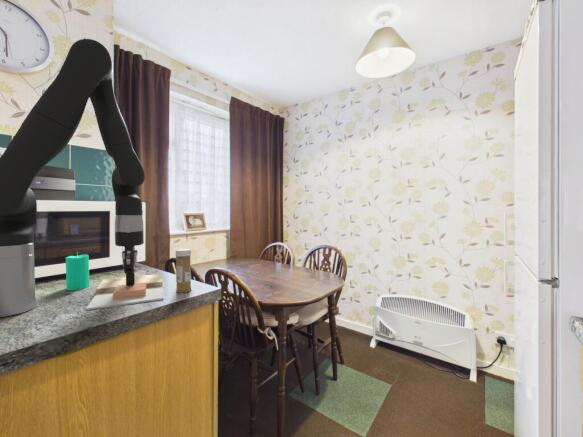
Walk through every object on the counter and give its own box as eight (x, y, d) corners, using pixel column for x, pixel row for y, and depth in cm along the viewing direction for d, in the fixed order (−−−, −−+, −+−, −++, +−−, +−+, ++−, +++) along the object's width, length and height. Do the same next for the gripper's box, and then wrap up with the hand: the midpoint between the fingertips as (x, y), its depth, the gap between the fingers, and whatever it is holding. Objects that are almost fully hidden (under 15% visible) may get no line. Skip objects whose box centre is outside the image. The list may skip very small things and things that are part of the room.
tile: (113, 300, 74) (113, 293, 74) (117, 291, 81) (116, 285, 81) (145, 295, 78) (145, 289, 78) (146, 288, 85) (146, 282, 85)
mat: (86, 310, 68) (86, 308, 68) (96, 295, 79) (96, 293, 79) (163, 299, 76) (163, 297, 76) (162, 287, 87) (162, 286, 87)
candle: (92, 283, 91) (91, 249, 91) (85, 289, 85) (84, 252, 85) (71, 285, 89) (70, 250, 89) (62, 290, 84) (61, 253, 83)
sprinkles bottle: (192, 291, 83) (192, 249, 83) (177, 294, 81) (176, 251, 80) (189, 288, 87) (189, 248, 87) (174, 290, 85) (174, 249, 84)
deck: (96, 295, 79) (96, 289, 79) (103, 285, 90) (103, 279, 90) (162, 287, 87) (162, 281, 87) (161, 278, 98) (161, 273, 98)
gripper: (117, 228, 85) (118, 281, 86) (111, 231, 73) (113, 292, 74) (144, 227, 88) (144, 278, 89) (142, 231, 77) (143, 289, 77)
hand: (130, 285), depth 81 cm, fingers closed
